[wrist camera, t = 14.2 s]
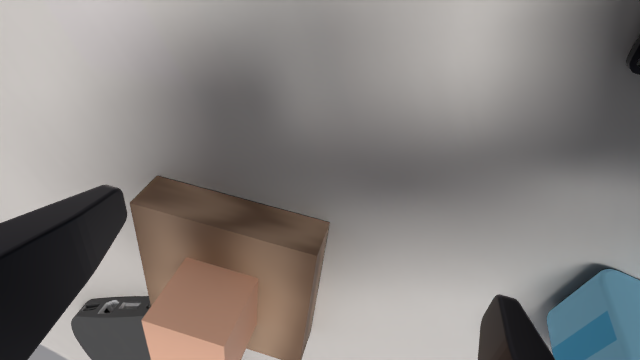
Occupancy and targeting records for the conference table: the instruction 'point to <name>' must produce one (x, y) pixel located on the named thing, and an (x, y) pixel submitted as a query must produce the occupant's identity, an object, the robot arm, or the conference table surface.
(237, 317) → the terracotta block
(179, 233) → the walnut block
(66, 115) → the conference table surface
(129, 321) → the media streaming box
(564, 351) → the data package
